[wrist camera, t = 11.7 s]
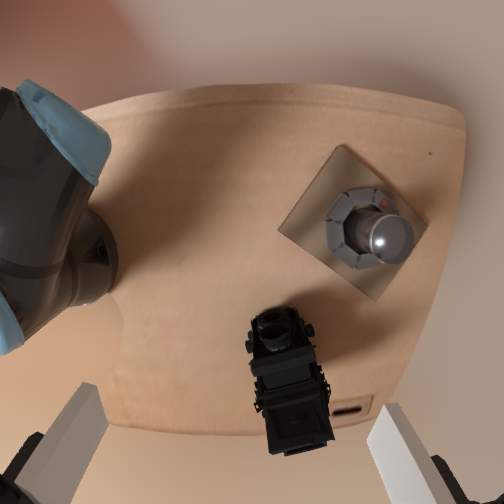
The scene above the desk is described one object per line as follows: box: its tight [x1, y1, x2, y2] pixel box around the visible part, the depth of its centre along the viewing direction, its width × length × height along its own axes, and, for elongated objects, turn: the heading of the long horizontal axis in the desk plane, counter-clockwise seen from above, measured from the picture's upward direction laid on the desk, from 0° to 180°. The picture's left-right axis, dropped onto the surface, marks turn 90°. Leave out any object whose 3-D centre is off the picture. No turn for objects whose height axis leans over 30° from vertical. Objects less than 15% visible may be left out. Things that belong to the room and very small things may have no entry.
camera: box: [245, 307, 335, 456], centre depth 32 cm, size 10×14×20 cm
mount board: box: [278, 145, 428, 302], centre depth 36 cm, size 18×14×3 cm
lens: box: [344, 209, 415, 264], centre depth 32 cm, size 6×5×10 cm
